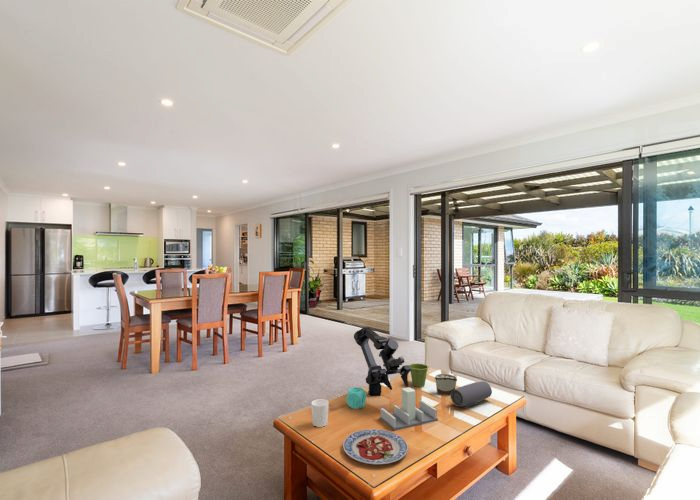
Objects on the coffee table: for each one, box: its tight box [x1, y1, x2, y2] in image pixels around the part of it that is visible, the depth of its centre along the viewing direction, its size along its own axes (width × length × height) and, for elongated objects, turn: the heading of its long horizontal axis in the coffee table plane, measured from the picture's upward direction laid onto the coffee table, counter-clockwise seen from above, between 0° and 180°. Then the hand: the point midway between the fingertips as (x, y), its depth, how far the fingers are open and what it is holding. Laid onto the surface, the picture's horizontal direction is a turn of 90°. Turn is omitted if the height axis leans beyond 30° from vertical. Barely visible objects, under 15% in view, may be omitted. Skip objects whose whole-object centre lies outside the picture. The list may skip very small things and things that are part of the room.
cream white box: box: [401, 386, 417, 420], centre depth 169 cm, size 4×5×13 cm
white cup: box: [311, 398, 330, 428], centre depth 164 cm, size 8×8×10 cm
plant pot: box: [408, 363, 429, 388], centre depth 214 cm, size 12×12×11 cm
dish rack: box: [379, 399, 439, 432], centre depth 169 cm, size 13×24×5 cm, turn 114°
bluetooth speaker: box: [450, 381, 493, 407], centre depth 187 cm, size 23×9×10 cm, turn 122°
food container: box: [434, 373, 458, 397], centre depth 201 cm, size 12×6×10 cm, turn 84°
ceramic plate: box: [342, 428, 409, 465], centre depth 142 cm, size 26×26×3 cm
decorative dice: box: [346, 387, 367, 410], centre depth 184 cm, size 8×8×8 cm
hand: (399, 388), depth 176 cm, fingers open, 9 cm apart
